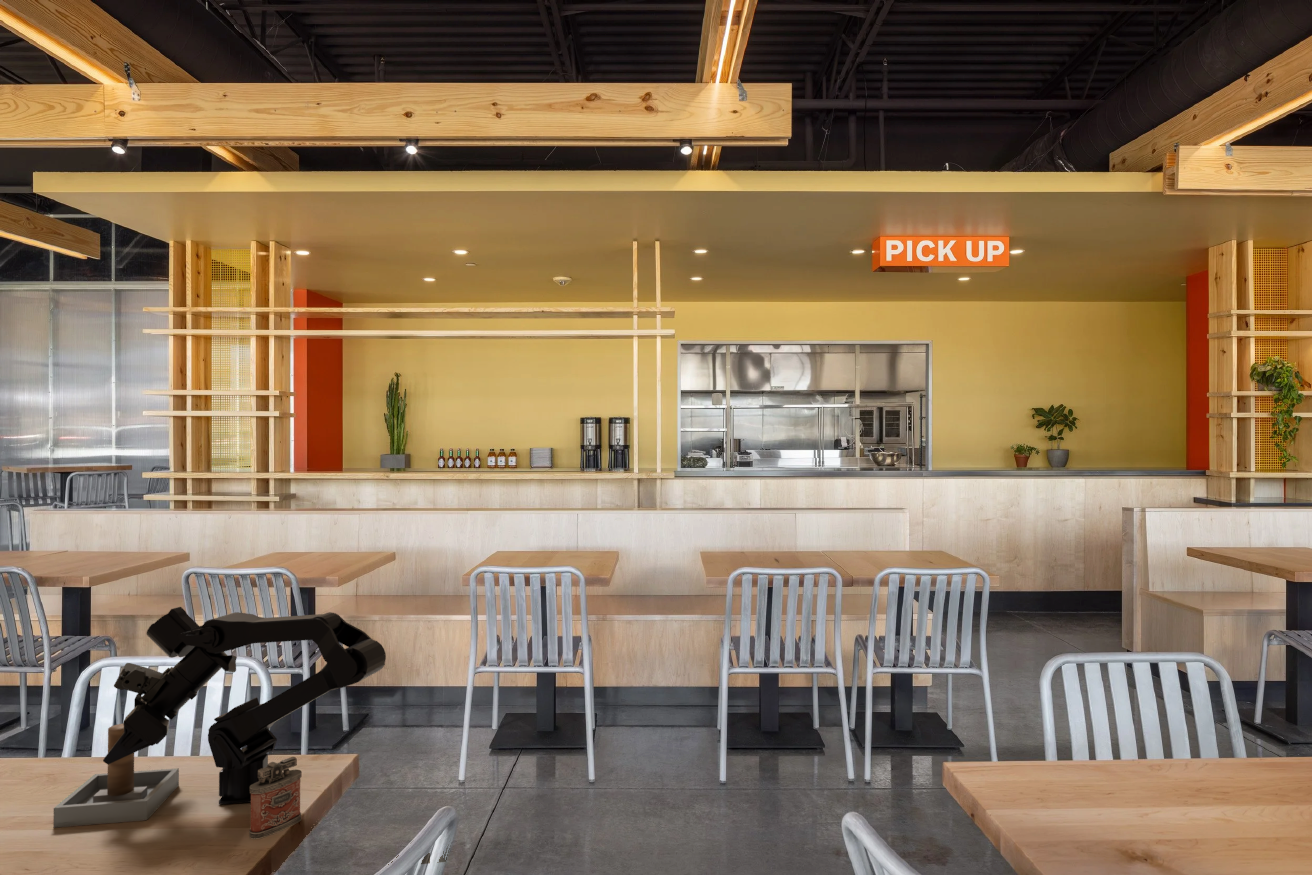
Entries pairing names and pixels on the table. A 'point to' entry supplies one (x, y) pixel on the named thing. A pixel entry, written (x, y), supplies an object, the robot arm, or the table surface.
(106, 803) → the tray
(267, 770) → the lighter
